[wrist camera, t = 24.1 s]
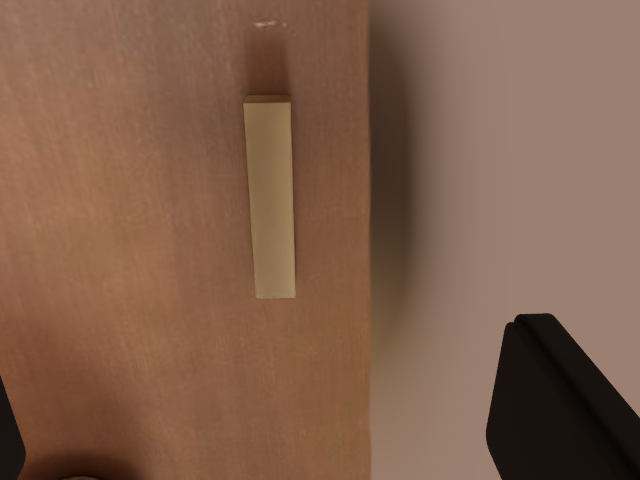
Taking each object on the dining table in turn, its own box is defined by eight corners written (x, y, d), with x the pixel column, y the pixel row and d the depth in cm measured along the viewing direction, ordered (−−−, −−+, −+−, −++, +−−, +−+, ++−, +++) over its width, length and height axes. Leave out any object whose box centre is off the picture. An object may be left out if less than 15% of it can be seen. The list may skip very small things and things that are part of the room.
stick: (290, 94, 29) (290, 102, 27) (295, 278, 34) (295, 297, 32) (246, 95, 29) (242, 102, 26) (258, 279, 34) (255, 298, 32)
